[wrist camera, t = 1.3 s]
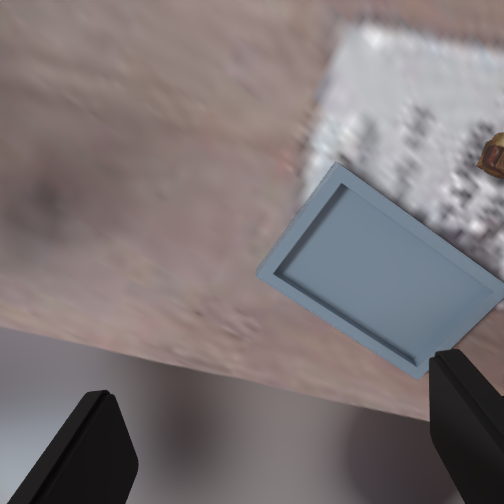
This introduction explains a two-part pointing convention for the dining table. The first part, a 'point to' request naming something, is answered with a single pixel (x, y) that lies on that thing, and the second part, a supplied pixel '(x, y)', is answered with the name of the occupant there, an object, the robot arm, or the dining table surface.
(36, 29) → the dining table surface
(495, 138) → the wooden carving
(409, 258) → the tray
